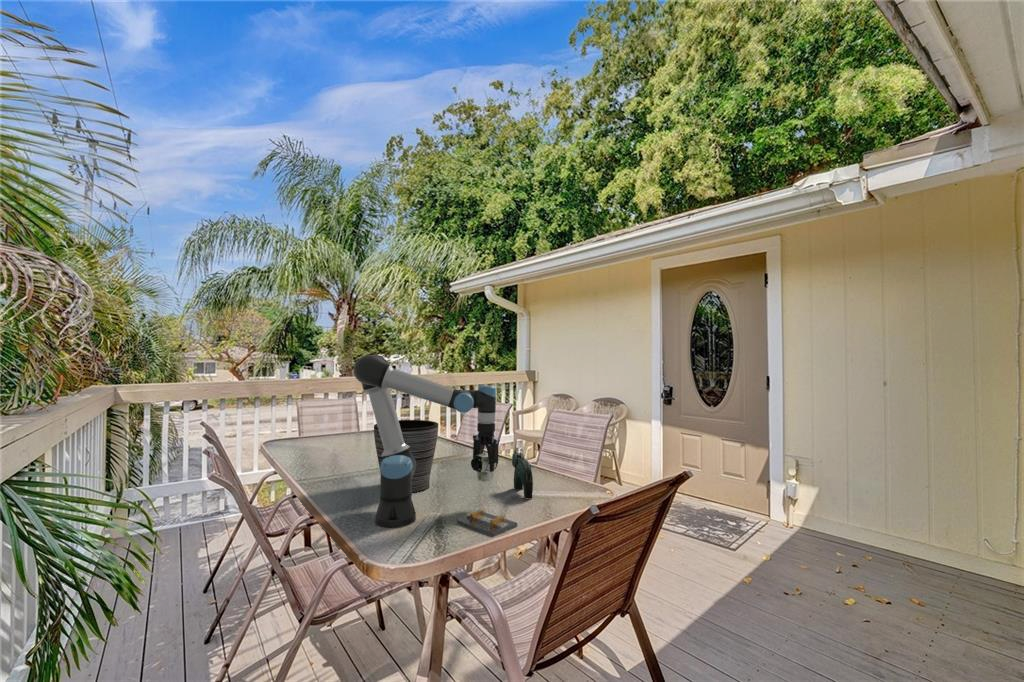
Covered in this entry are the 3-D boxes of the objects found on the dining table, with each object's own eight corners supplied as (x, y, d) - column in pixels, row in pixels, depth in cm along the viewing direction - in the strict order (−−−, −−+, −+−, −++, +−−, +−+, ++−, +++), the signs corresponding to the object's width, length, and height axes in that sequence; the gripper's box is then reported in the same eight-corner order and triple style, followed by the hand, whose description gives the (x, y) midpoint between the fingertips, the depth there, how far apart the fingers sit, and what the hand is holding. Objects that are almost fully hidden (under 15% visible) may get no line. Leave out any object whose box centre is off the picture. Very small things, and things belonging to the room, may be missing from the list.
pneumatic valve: (469, 481, 192) (470, 452, 192) (490, 477, 200) (491, 449, 200) (478, 484, 188) (479, 455, 188) (499, 480, 196) (500, 451, 196)
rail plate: (493, 536, 162) (493, 526, 162) (456, 523, 174) (456, 513, 174) (517, 526, 171) (517, 516, 172) (480, 514, 184) (480, 505, 184)
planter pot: (370, 499, 202) (371, 430, 203) (374, 480, 231) (375, 420, 232) (440, 494, 209) (440, 428, 210) (435, 477, 238) (436, 419, 239)
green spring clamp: (510, 487, 221) (510, 445, 222) (523, 486, 223) (523, 444, 224) (523, 500, 202) (523, 454, 203) (537, 498, 204) (537, 453, 205)
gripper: (508, 423, 192) (507, 480, 191) (477, 419, 204) (475, 472, 203) (496, 425, 186) (494, 483, 185) (464, 420, 198) (463, 475, 197)
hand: (484, 477), depth 194 cm, fingers closed on pneumatic valve, 5 cm apart
